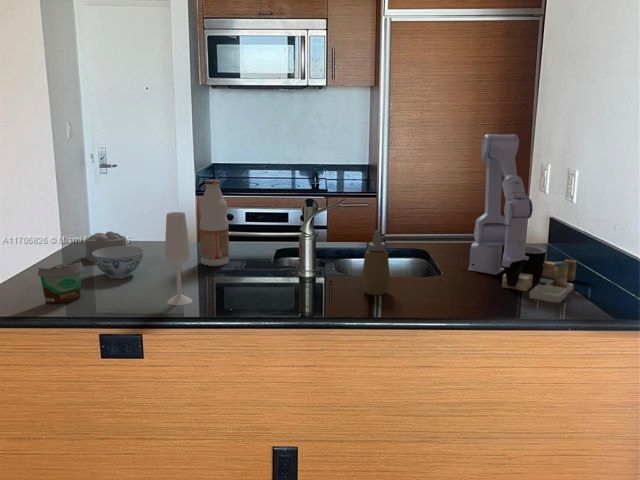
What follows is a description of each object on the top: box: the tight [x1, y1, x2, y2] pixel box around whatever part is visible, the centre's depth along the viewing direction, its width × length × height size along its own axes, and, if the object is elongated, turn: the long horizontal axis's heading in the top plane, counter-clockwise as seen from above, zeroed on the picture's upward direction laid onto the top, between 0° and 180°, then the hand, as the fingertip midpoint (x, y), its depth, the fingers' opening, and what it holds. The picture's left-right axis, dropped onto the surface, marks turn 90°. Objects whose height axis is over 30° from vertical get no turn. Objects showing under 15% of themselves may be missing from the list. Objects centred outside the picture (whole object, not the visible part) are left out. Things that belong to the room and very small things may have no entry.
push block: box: [501, 273, 533, 292], centre depth 173 cm, size 7×6×4 cm
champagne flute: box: [164, 211, 193, 306], centre depth 155 cm, size 7×7×24 cm
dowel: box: [553, 261, 569, 288], centre depth 171 cm, size 4×4×8 cm
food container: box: [37, 258, 84, 305], centre depth 157 cm, size 12×6×10 cm, turn 148°
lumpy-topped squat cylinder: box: [84, 231, 128, 261], centre depth 202 cm, size 10×13×9 cm
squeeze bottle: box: [361, 230, 391, 296], centre depth 165 cm, size 8×8×18 cm
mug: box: [520, 245, 547, 286], centre depth 179 cm, size 12×9×10 cm
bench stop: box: [541, 258, 578, 282], centre depth 185 cm, size 17×3×6 cm, turn 54°
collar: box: [545, 279, 574, 295], centre depth 171 cm, size 6×6×2 cm
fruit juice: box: [198, 179, 230, 267], centre depth 194 cm, size 9×9×28 cm
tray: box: [528, 283, 568, 304], centre depth 164 cm, size 8×8×2 cm
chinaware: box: [92, 245, 144, 279], centre depth 181 cm, size 15×15×8 cm
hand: (511, 285), depth 170 cm, fingers closed
